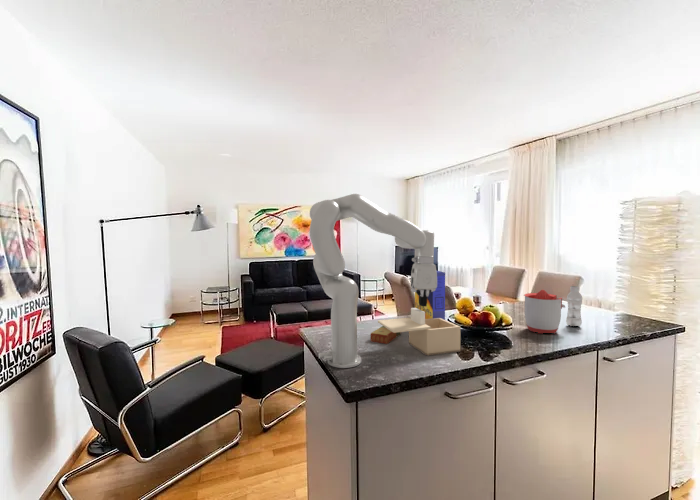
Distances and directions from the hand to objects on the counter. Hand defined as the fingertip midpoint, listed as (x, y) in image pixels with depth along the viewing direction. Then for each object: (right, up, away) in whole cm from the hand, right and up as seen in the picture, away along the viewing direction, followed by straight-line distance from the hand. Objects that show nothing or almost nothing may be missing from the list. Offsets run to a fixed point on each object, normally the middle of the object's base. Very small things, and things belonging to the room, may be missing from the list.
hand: (422, 305), depth 138 cm
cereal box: (+8, -17, +24) cm, 31 cm away
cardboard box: (+5, -18, +3) cm, 19 cm away
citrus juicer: (+63, -16, +24) cm, 69 cm away
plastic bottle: (+82, -16, +31) cm, 89 cm away
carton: (-13, -18, +16) cm, 28 cm away
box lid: (-8, -8, -2) cm, 11 cm away
